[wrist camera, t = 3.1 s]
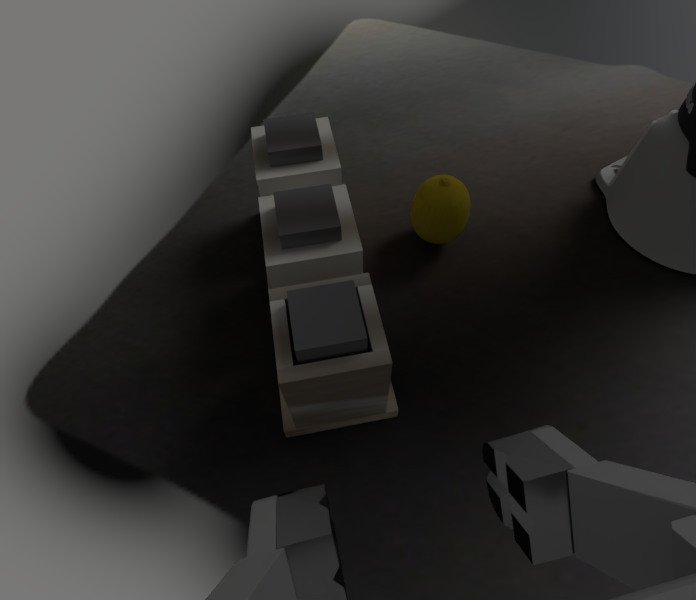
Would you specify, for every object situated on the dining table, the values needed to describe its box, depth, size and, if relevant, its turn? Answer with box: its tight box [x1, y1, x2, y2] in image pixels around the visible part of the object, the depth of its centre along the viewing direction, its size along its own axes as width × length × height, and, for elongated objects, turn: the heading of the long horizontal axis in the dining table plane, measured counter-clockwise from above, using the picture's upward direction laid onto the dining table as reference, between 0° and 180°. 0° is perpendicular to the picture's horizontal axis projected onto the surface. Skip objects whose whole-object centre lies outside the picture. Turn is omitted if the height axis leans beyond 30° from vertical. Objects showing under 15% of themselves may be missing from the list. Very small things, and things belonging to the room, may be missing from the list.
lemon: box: [411, 175, 470, 244], centre depth 43 cm, size 6×6×8 cm
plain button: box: [287, 280, 367, 365], centre depth 31 cm, size 4×4×6 cm
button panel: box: [251, 113, 398, 438], centre depth 38 cm, size 25×9×12 cm, turn 11°
